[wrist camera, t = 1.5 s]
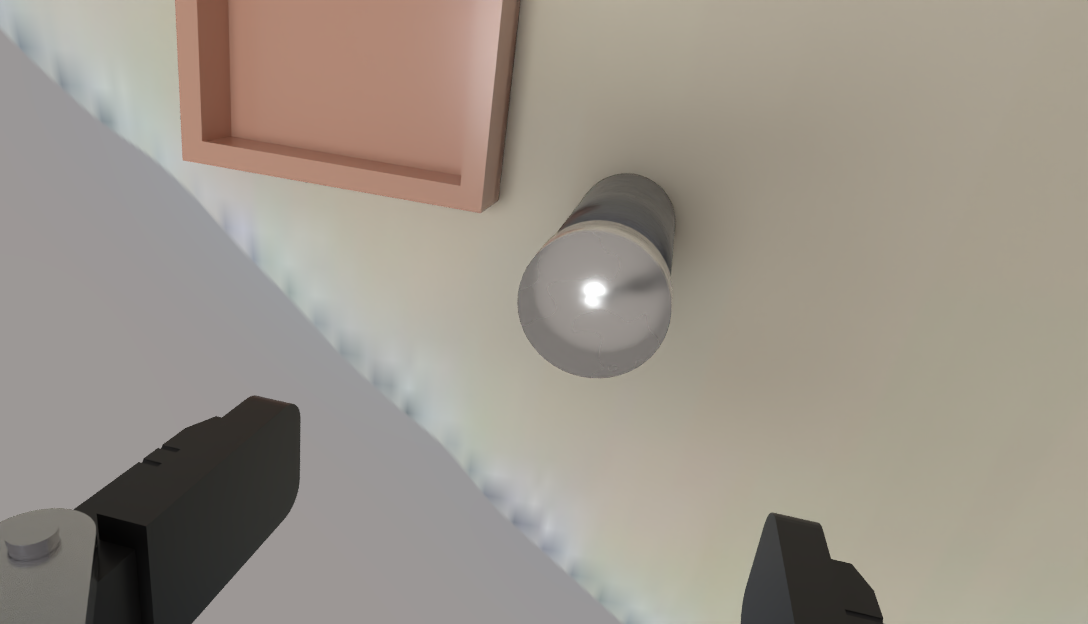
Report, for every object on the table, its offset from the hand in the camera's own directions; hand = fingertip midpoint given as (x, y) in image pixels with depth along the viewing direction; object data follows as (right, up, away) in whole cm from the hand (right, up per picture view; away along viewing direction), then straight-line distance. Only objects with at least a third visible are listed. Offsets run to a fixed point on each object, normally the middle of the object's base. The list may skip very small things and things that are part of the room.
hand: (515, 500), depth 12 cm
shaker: (+4, +7, +20) cm, 22 cm away
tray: (-8, +15, +20) cm, 26 cm away
